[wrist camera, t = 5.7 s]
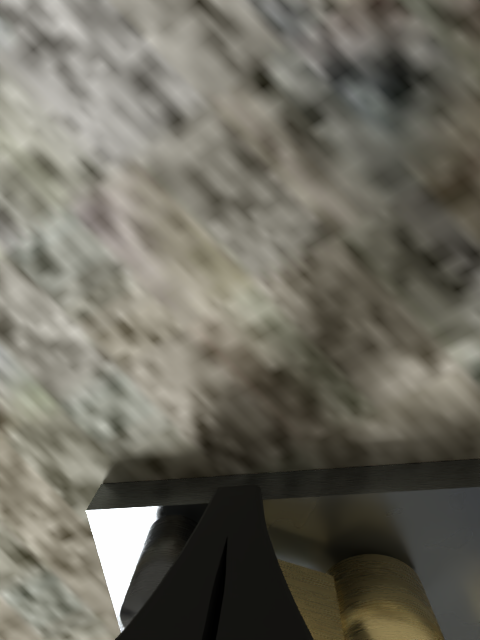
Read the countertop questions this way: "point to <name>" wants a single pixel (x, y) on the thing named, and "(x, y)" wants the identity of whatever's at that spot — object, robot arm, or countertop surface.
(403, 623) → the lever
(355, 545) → the plate
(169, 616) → the robot arm
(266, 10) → the countertop surface
